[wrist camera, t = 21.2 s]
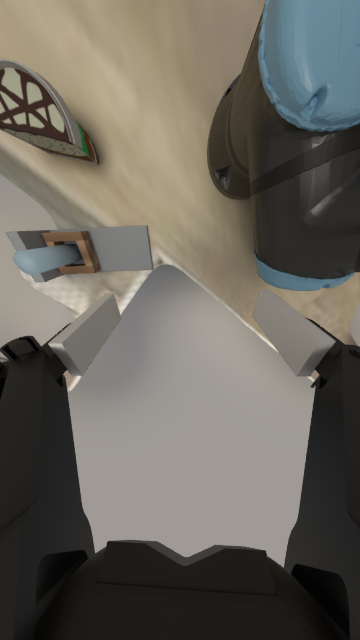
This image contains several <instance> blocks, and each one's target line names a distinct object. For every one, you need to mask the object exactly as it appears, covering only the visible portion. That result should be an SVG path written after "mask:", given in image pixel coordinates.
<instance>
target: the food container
mask: <svg viewBox="0 0 360 640" xmlns="http://www.w3.org/2000/svg"><path fill="white" fill-rule="evenodd" d="M0 130H2V131H5V132H7V133H9V134H11V135H13V136H15V137H17V138H19V139H21V140H23V141H25V142H27V143H29V144H31V145H33V146H35V147H37V148H39V149H41V150H43V151H45V152H47V153H49V154H53V155H57V156H62V157H66V158H71V159H76V160H80V161H85V162H89V163H94V164H98V165H99V162H98V156H97V153H96V151H95V148H94V145H93V143H92V141H91V140H90V138H89V136H88V135H87V133H86V132H85V131H84V130H83V129H82V127H81V126H80V125H79V124H78V123H77V122H76V121H75V119H74V118H73V116H72V114H71V112H70V110H69V108H68V107H67V105H66V104H65V102H64V100H63V99H62V97H61V96H60V95H59V94H58V92H57V91H56V90H55V89H54V88H53V86H52V85H51V84H50V83H49V82H48V81H47V80H45V79H44V78H43V77H42V76H40V75H39V74H38V73H36V72H34V71H33V70H31V69H30V68H28V67H26V66H25V65H23V64H21V63H18V62H16V61H11V60H5V59H0Z"/></svg>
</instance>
